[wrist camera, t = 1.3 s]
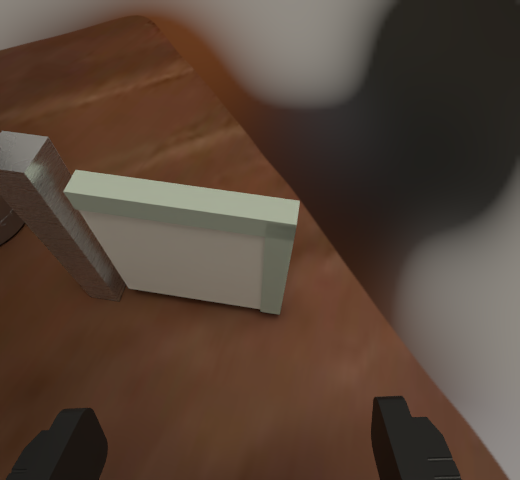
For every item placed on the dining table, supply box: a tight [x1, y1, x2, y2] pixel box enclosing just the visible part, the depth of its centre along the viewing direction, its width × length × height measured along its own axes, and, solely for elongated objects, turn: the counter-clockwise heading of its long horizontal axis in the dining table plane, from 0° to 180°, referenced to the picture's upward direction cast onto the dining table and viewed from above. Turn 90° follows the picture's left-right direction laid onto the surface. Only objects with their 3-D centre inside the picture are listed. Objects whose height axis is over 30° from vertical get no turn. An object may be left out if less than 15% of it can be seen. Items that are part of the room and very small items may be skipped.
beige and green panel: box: [63, 170, 300, 315], centre depth 25 cm, size 13×2×13 cm, turn 81°
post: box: [0, 131, 126, 301], centre depth 26 cm, size 3×3×16 cm
